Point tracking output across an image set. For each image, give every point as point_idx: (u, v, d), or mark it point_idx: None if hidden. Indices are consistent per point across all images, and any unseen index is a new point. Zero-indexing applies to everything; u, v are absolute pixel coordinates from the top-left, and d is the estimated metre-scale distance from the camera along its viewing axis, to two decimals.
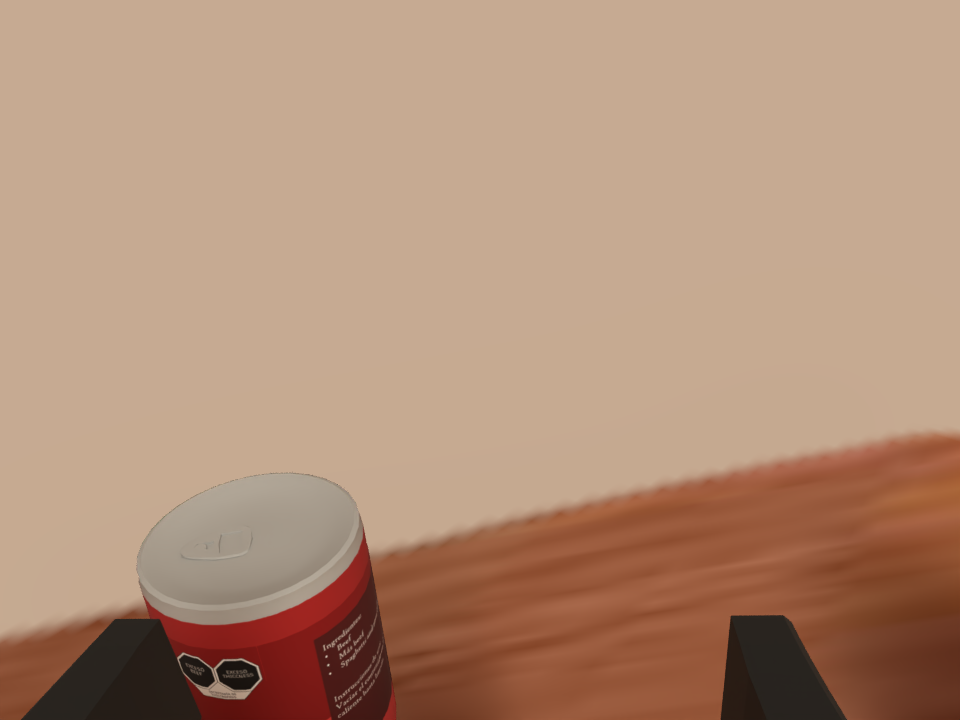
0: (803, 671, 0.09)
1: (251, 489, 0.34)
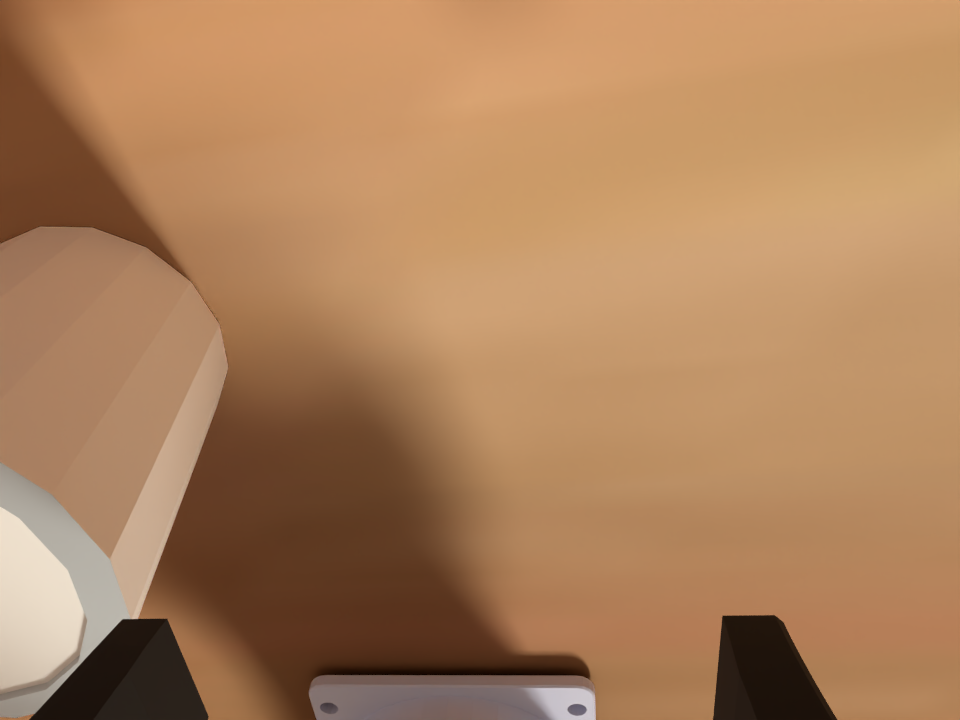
0: (795, 672, 0.09)
1: None
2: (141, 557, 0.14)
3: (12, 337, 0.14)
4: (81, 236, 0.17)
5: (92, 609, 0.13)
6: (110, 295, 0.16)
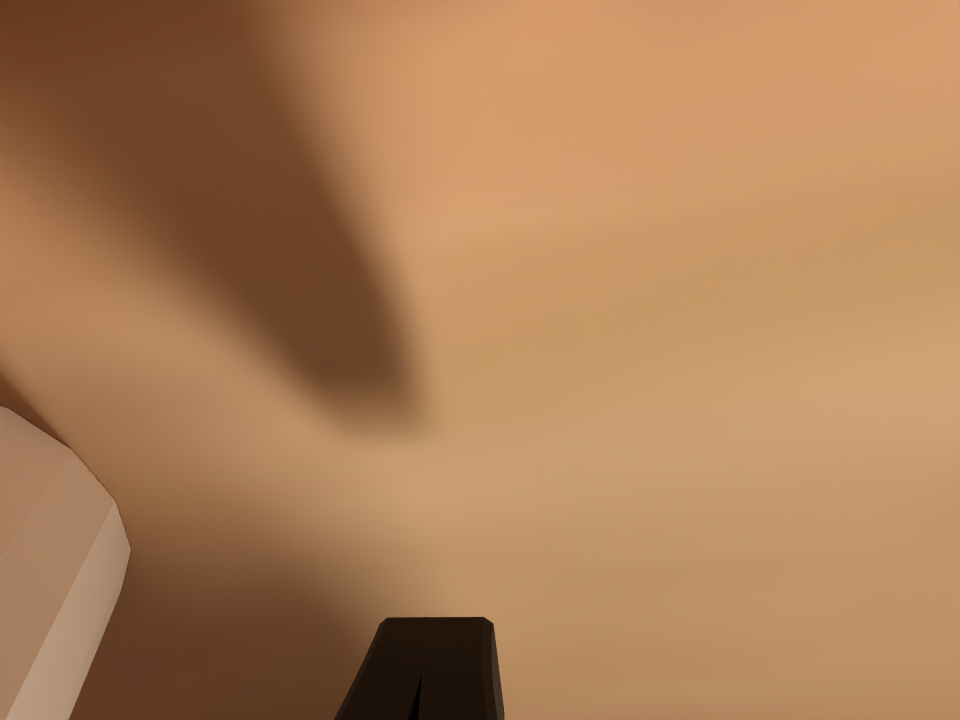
0: (474, 670, 0.10)
1: None
2: None
3: None
4: None
5: None
6: None
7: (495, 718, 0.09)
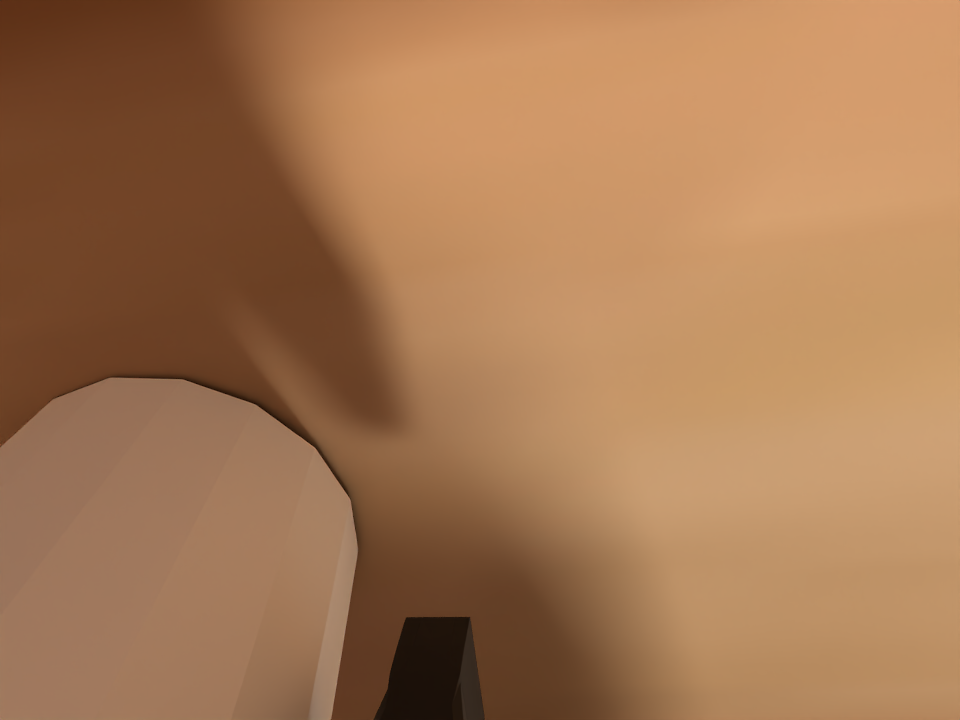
0: (441, 670, 0.10)
1: None
2: None
3: (84, 614, 0.09)
4: (169, 396, 0.12)
5: None
6: (218, 501, 0.11)
7: (461, 718, 0.09)
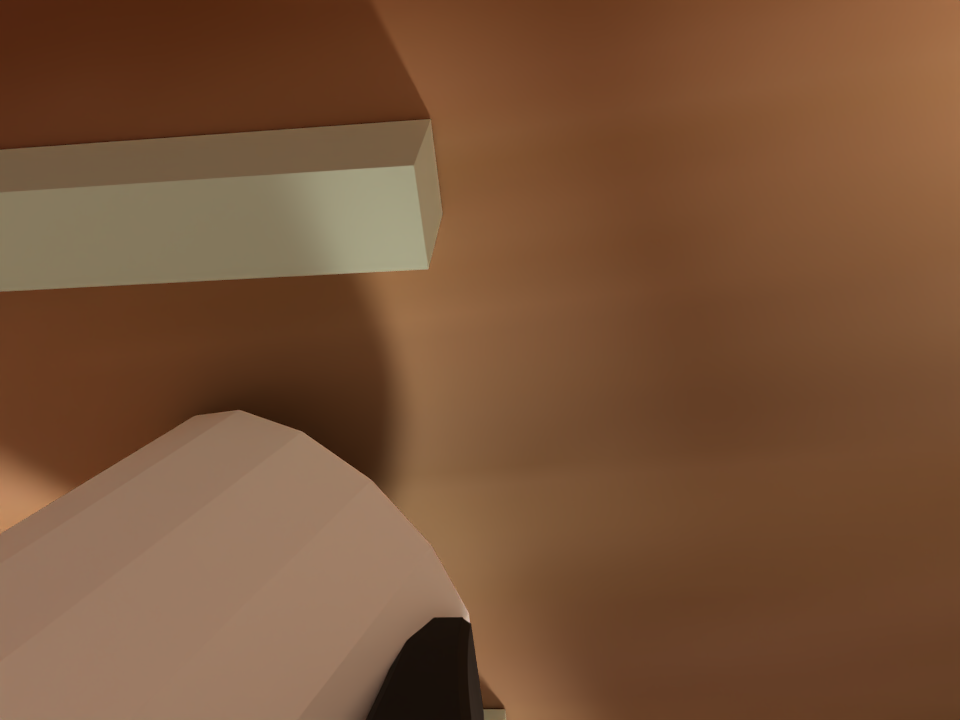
0: (449, 670, 0.10)
1: None
2: None
3: None
4: (276, 452, 0.11)
5: None
6: (263, 605, 0.09)
7: (468, 718, 0.09)
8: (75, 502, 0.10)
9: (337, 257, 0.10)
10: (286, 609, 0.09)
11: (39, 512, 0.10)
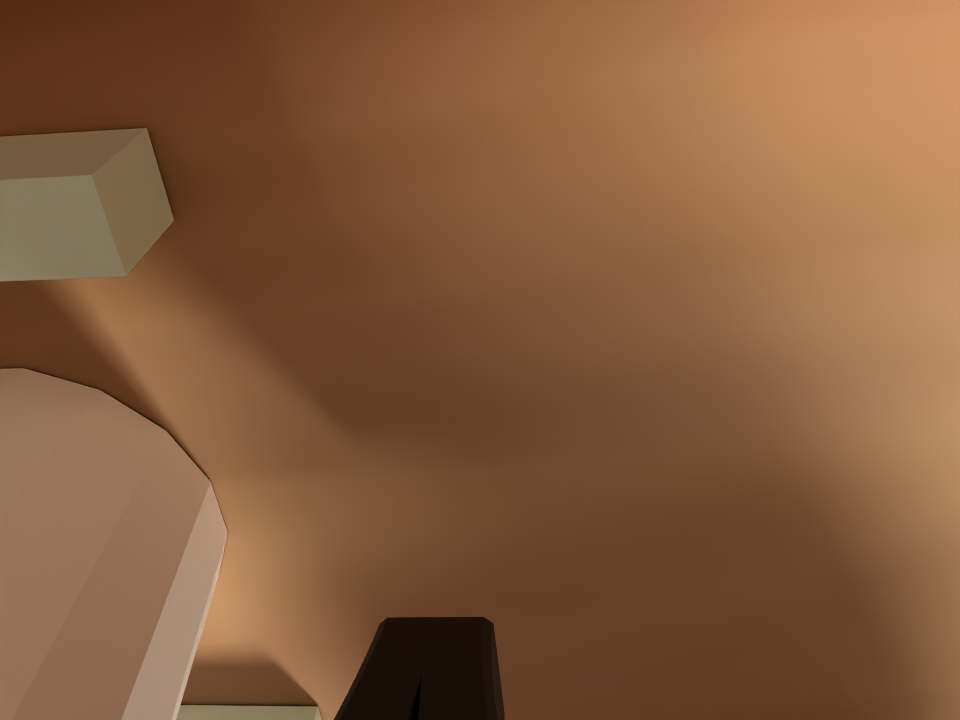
0: (474, 671, 0.10)
1: None
2: None
3: None
4: (6, 385, 0.12)
5: None
6: (40, 485, 0.11)
7: (495, 718, 0.09)
8: None
9: (36, 263, 0.10)
10: (61, 486, 0.11)
11: None
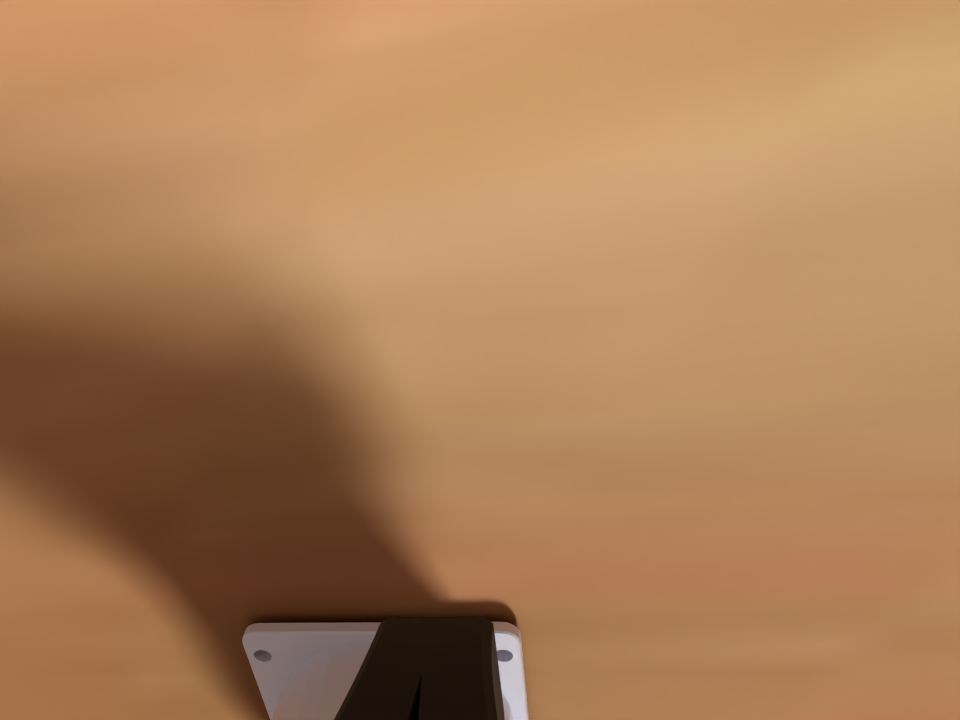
0: (473, 670, 0.10)
1: None
2: None
3: None
4: None
5: None
6: None
7: (495, 718, 0.09)
8: None
9: None
10: None
11: None
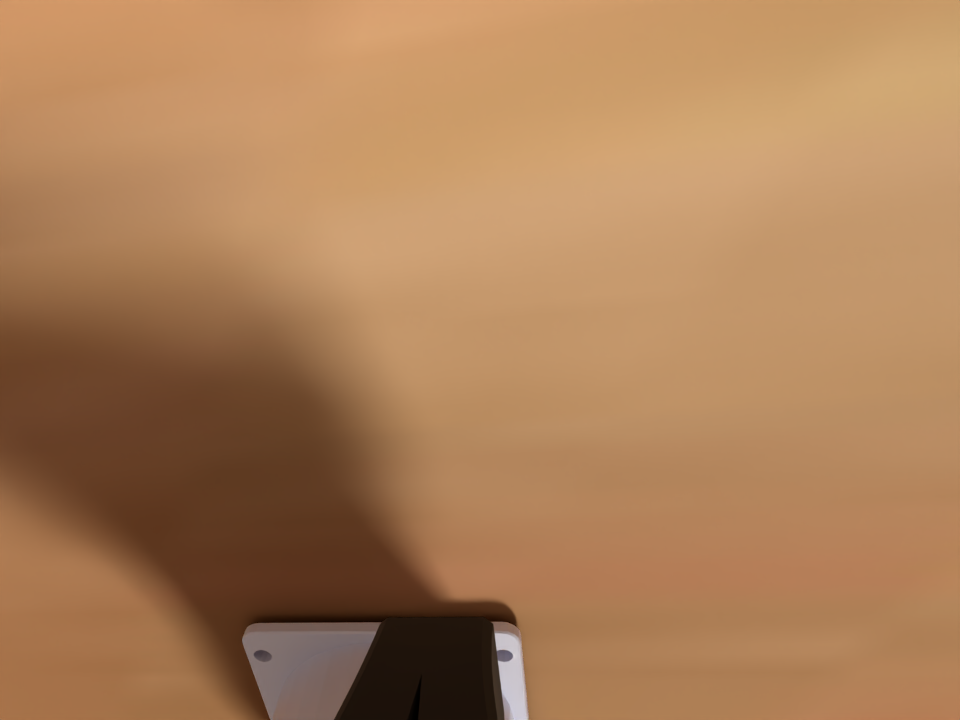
0: (473, 670, 0.10)
1: None
2: None
3: None
4: None
5: None
6: None
7: (495, 718, 0.09)
8: None
9: None
10: None
11: None
